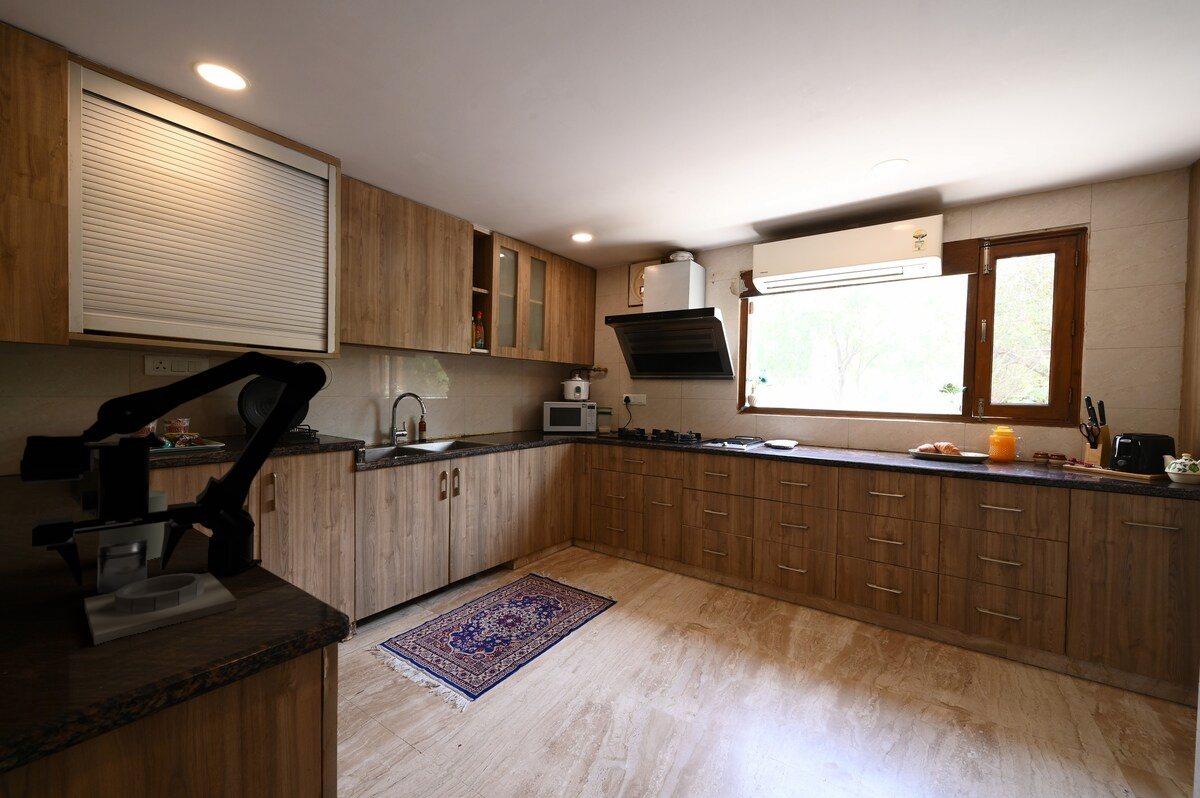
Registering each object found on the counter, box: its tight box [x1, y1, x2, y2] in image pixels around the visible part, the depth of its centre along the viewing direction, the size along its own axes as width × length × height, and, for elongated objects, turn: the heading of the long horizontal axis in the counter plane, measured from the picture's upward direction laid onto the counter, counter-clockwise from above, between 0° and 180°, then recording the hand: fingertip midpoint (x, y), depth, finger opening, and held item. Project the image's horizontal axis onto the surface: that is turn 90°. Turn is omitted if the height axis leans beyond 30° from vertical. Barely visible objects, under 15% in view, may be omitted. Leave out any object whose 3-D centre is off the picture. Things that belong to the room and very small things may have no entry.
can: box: [97, 490, 168, 564], centre depth 89 cm, size 9×9×12 cm
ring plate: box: [83, 572, 238, 646], centre depth 68 cm, size 16×14×3 cm
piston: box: [96, 537, 148, 594], centre depth 76 cm, size 6×6×7 cm
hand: (123, 576), depth 76 cm, fingers open, 9 cm apart
